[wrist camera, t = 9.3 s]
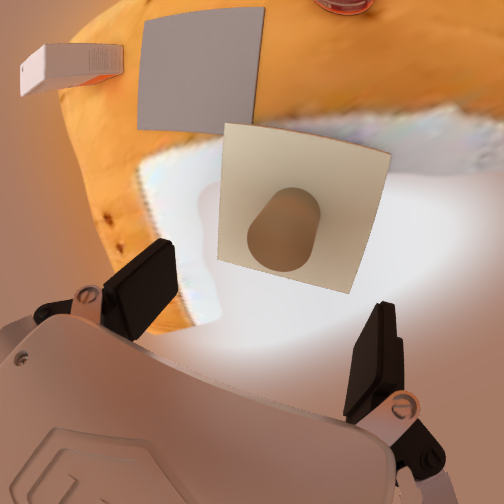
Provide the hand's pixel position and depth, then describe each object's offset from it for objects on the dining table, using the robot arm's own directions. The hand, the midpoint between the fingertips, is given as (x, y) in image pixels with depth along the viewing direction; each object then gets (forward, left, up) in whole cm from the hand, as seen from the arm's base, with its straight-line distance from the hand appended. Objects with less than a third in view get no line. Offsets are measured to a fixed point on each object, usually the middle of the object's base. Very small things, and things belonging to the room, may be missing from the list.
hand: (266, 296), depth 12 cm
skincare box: (+27, -13, -17) cm, 34 cm away
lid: (+1, 0, -11) cm, 11 cm away
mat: (+14, -11, -17) cm, 24 cm away
